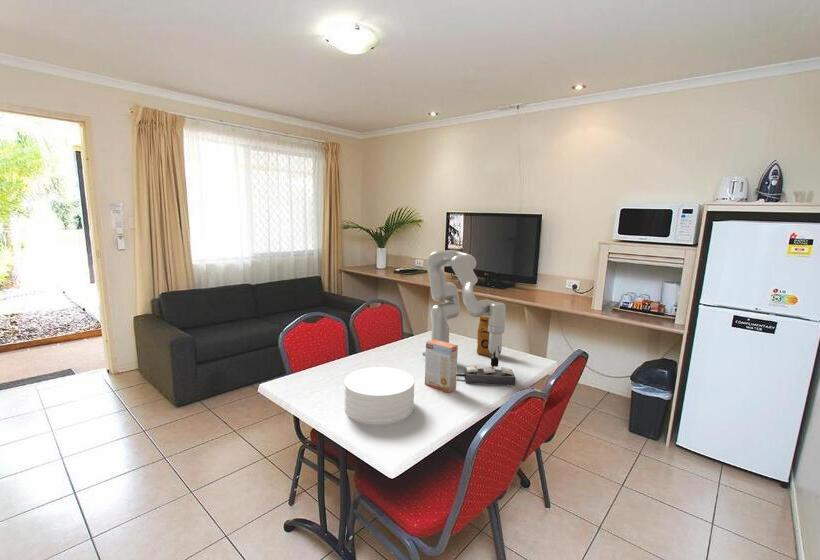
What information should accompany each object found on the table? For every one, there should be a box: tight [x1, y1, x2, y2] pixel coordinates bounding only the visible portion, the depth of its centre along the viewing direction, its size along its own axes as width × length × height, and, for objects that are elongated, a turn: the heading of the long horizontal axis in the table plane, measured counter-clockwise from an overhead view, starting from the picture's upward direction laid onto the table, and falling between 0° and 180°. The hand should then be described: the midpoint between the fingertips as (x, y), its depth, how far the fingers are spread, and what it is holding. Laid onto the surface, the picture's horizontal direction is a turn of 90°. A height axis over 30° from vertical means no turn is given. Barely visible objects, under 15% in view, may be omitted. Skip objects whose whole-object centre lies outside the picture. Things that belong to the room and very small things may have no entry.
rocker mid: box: [482, 366, 496, 373], centre depth 184 cm, size 5×4×1 cm
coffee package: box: [476, 316, 492, 358], centre depth 221 cm, size 10×12×22 cm
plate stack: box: [343, 366, 415, 425], centre depth 156 cm, size 28×28×12 cm
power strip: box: [456, 367, 517, 387], centre depth 185 cm, size 29×9×5 cm, turn 86°
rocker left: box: [465, 365, 479, 373], centre depth 185 cm, size 5×4×1 cm
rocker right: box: [500, 366, 514, 375], centre depth 184 cm, size 5×4×1 cm
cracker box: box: [424, 339, 459, 393], centre depth 175 cm, size 14×6×21 cm, turn 49°
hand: (494, 366), depth 184 cm, fingers closed
